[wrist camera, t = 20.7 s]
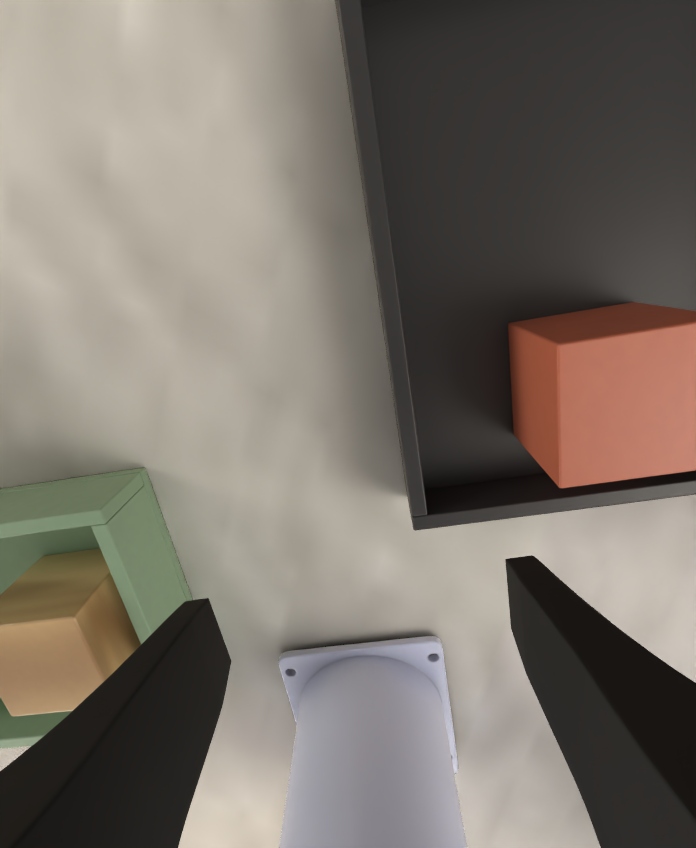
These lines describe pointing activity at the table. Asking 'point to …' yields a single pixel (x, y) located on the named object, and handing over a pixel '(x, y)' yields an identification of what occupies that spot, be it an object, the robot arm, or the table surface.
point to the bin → (84, 530)
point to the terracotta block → (606, 392)
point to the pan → (515, 213)
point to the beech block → (61, 633)
